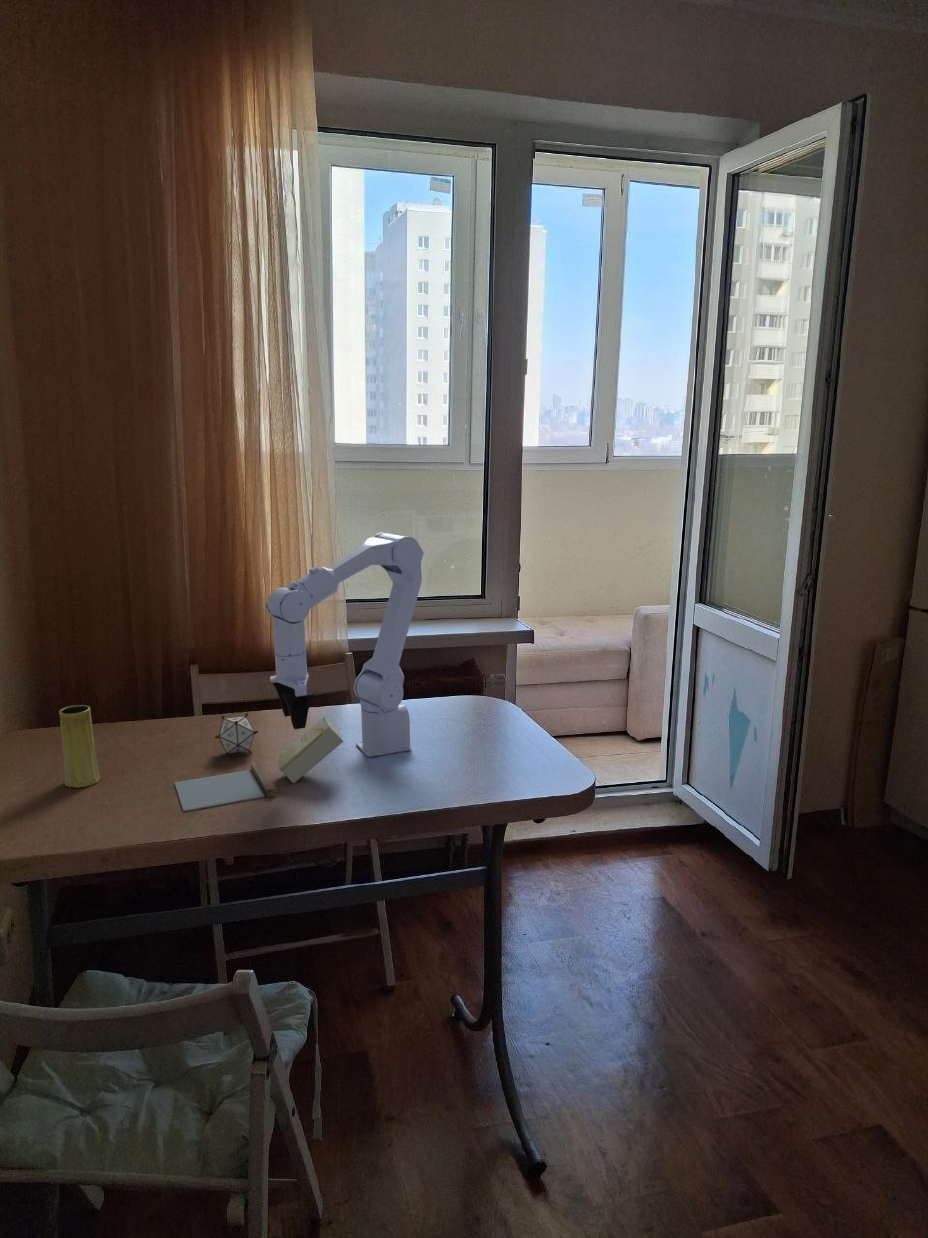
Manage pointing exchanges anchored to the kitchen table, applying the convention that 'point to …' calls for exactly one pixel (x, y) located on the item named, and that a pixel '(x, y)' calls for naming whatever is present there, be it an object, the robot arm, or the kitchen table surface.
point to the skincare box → (309, 749)
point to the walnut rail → (263, 779)
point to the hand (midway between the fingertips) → (294, 721)
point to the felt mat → (218, 790)
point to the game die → (236, 734)
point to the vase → (78, 746)
